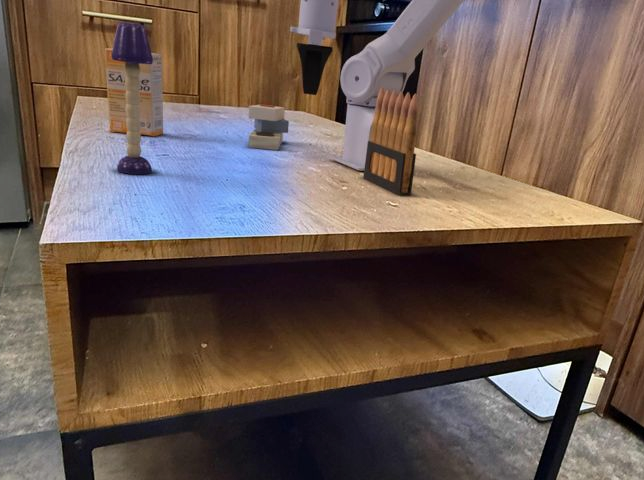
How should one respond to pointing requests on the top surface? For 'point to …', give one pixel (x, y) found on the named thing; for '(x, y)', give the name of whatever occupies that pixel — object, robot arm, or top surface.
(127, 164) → the toy lamp
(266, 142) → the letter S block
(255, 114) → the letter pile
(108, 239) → the top surface
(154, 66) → the supplement box
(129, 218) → the top surface
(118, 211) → the top surface
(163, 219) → the top surface
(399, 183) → the ammunition clip
